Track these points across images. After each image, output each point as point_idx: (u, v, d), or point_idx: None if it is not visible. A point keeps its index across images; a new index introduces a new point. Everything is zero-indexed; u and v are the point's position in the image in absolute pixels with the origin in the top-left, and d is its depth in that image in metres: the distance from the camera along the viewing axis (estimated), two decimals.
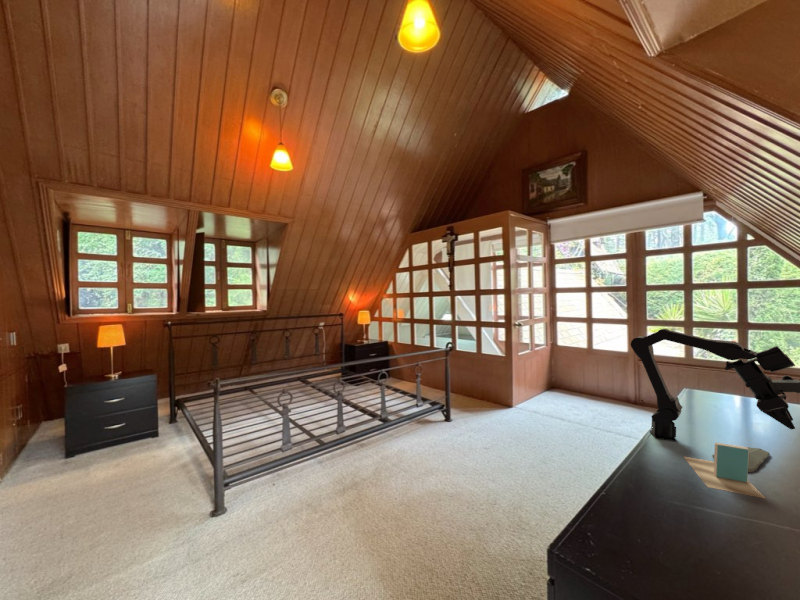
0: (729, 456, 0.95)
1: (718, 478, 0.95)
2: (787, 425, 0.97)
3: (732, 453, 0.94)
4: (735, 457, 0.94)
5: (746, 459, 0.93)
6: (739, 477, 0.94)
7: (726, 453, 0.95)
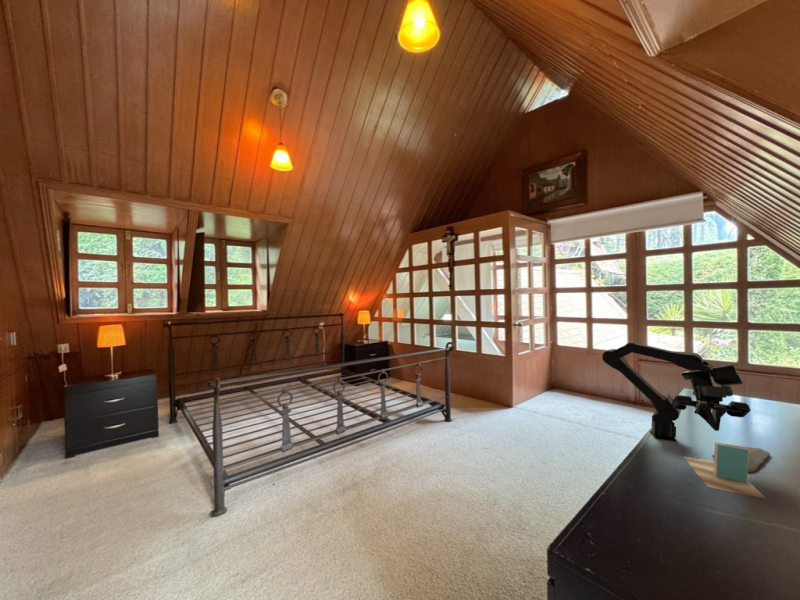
0: (729, 456, 0.95)
1: (718, 478, 0.95)
2: (711, 426, 1.05)
3: (732, 453, 0.94)
4: (735, 457, 0.94)
5: (746, 459, 0.93)
6: (739, 477, 0.94)
7: (726, 453, 0.95)
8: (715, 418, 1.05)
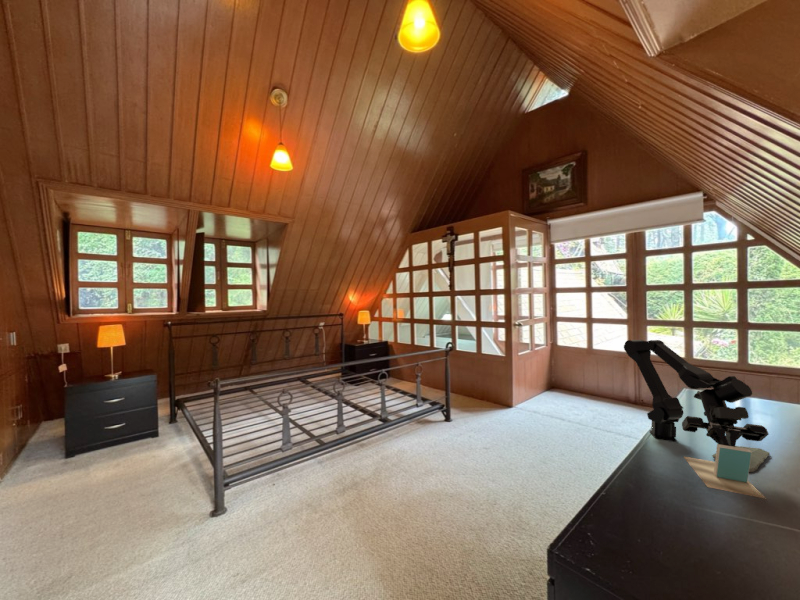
0: (731, 458, 0.94)
1: (718, 478, 0.95)
2: None
3: (734, 455, 0.93)
4: (737, 459, 0.93)
5: (748, 461, 0.92)
6: (739, 478, 0.94)
7: (728, 455, 0.94)
8: (729, 442, 0.97)
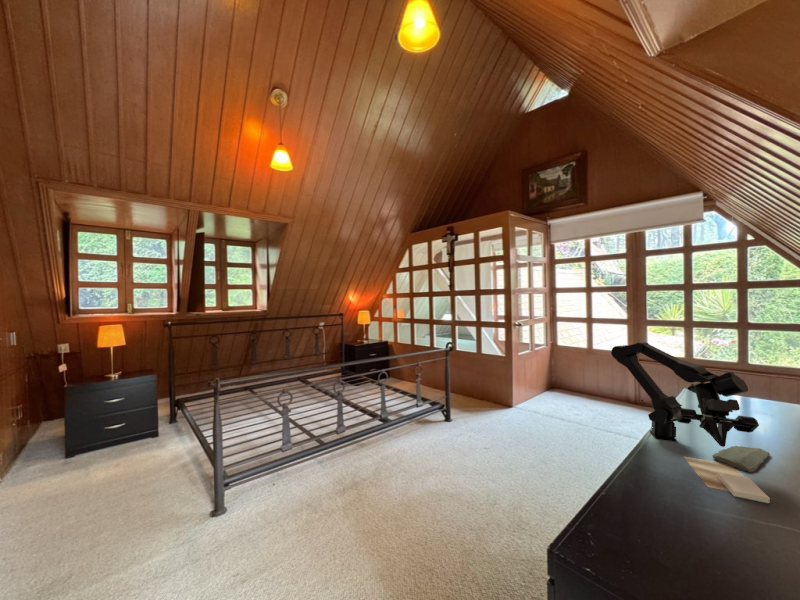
0: None
1: None
2: (717, 441, 1.01)
3: None
4: None
5: None
6: None
7: None
8: (721, 433, 1.01)
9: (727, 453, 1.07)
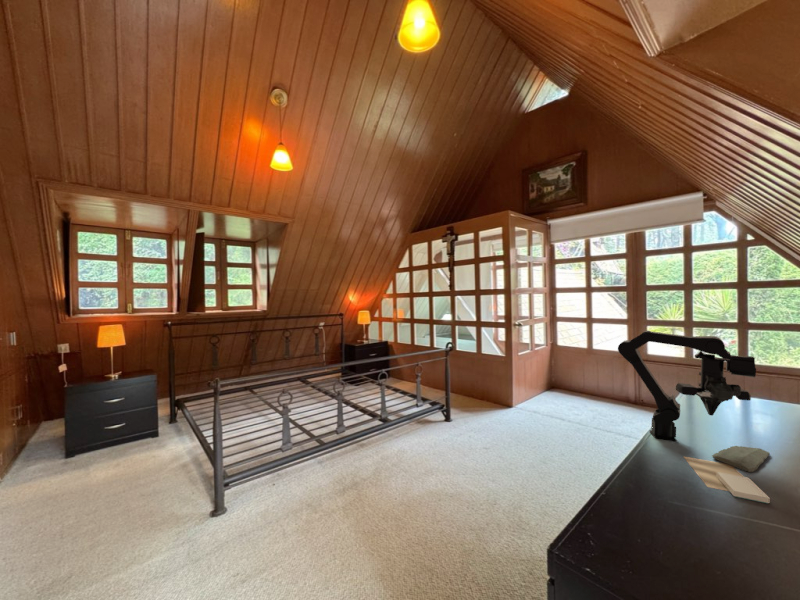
0: None
1: None
2: (707, 410, 1.15)
3: None
4: None
5: None
6: None
7: None
8: (713, 405, 1.13)
9: (727, 453, 1.07)
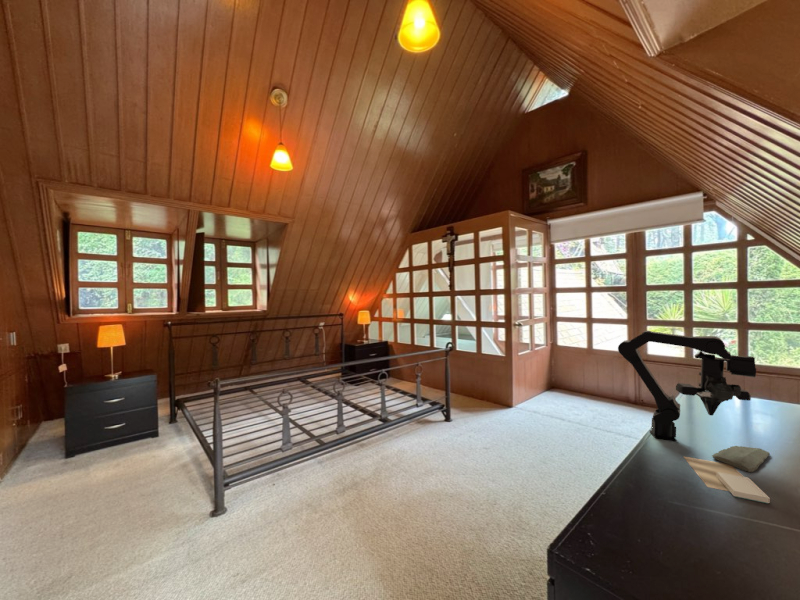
0: None
1: None
2: (707, 410, 1.15)
3: None
4: None
5: None
6: None
7: None
8: (713, 405, 1.13)
9: (727, 453, 1.07)
